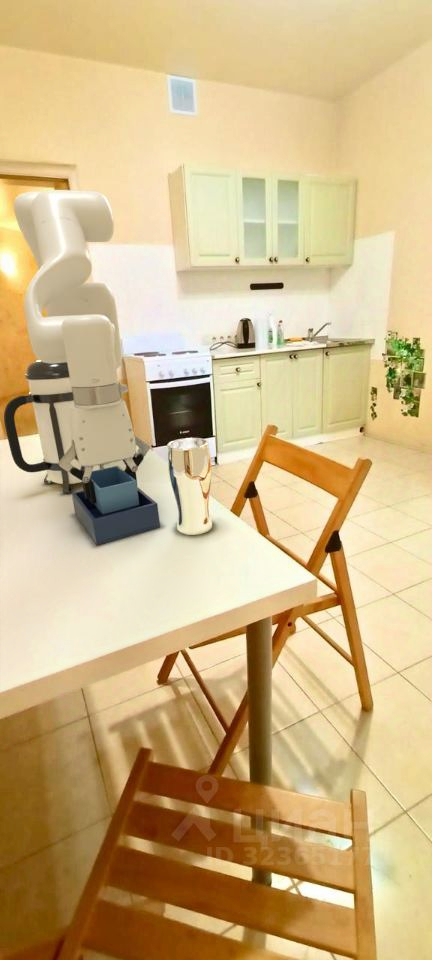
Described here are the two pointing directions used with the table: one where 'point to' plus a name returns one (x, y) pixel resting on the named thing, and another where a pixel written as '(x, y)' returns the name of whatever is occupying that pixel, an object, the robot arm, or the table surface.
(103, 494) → the small bin
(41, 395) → the coffee press
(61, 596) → the table surface
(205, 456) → the beer glass
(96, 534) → the big bin
